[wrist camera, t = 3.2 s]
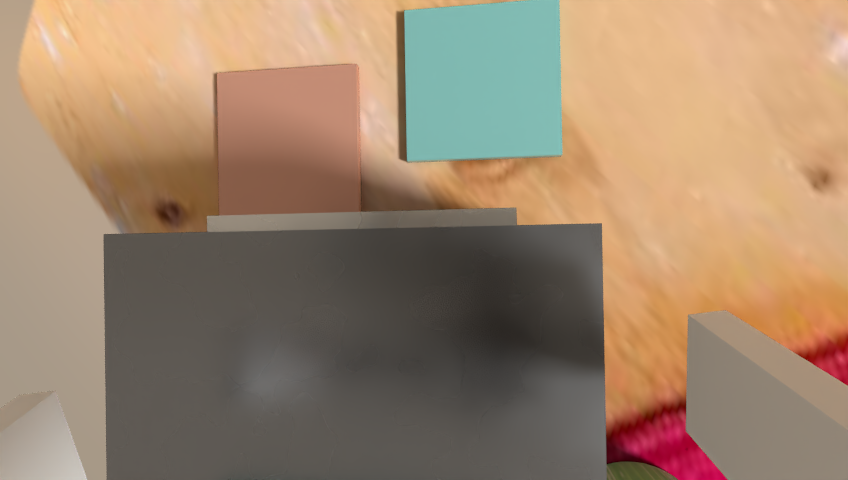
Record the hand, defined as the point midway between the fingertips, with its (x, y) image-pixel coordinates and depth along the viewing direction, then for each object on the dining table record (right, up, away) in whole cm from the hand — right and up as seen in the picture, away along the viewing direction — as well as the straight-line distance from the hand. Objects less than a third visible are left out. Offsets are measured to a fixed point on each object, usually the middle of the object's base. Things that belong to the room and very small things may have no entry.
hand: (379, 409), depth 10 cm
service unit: (+1, 0, +19) cm, 19 cm away
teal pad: (+4, +13, +18) cm, 23 cm away
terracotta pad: (-7, +10, +20) cm, 23 cm away
